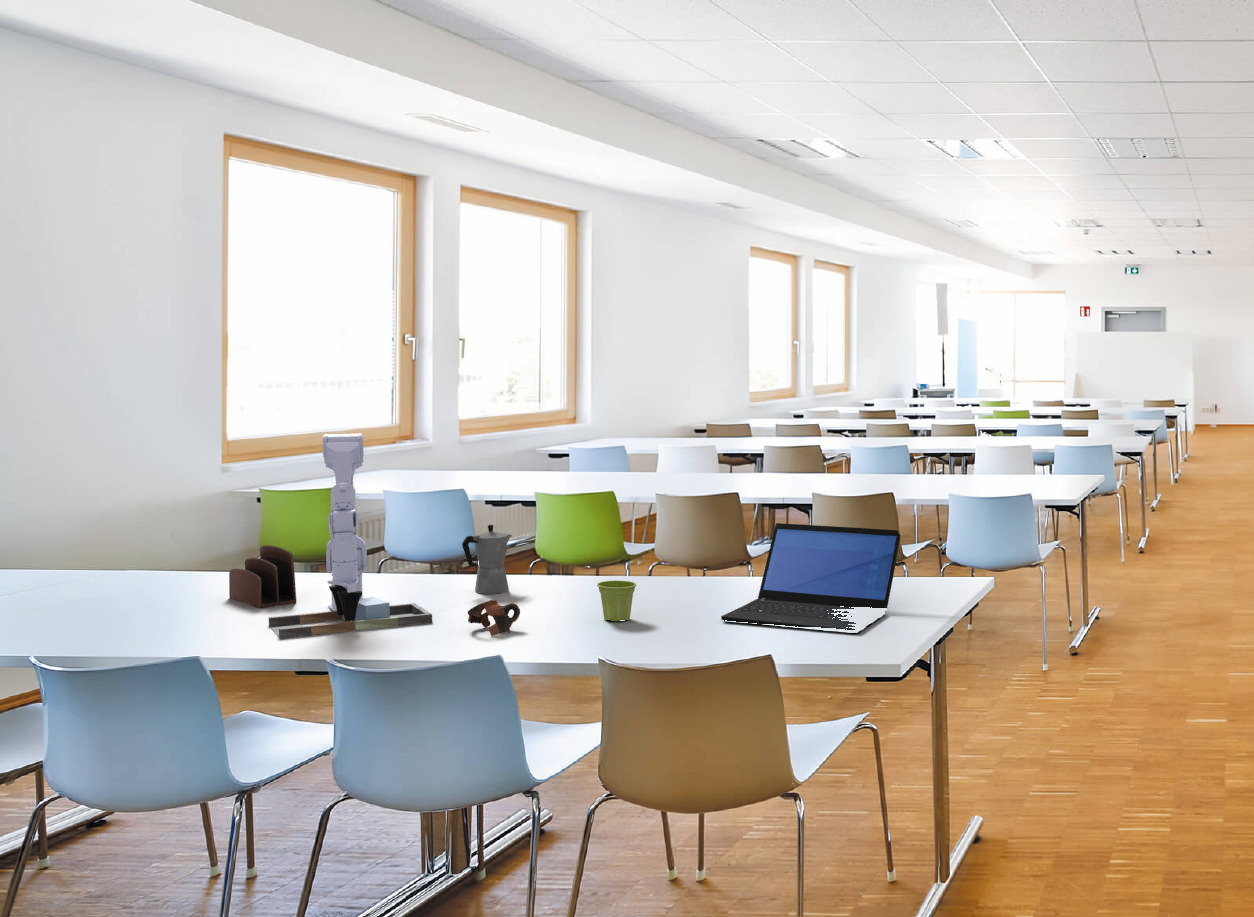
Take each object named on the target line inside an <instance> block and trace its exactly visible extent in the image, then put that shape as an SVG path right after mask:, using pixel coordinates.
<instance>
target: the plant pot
mask: <svg viewBox="0 0 1254 917" xmlns="http://www.w3.org/2000/svg"><path fill="white" fill-rule="evenodd" d="M637 585H638V583H636V582H634V581H629V580H618V579H617V580H604V581H600V582H598V583H597V584H596V586H597V587H598V590H599V593H600V598H601V599H600V600H601V607H602V613H603V620H604V621H606V620H610V621H612V622H613V621H620V620H627V621H629V620H628V619H631V615H632V614H631V613H632V604H633V597H634V592H635V589H636V587H637Z"/></svg>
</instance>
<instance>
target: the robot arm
mask: <svg viewBox="0 0 1254 917" xmlns="http://www.w3.org/2000/svg"><path fill="white" fill-rule="evenodd" d="M364 451H365V450H364V435H363V434H362V433H361V432H359V433H343V434H342V433H341V434H340V433H339V434H337V433H336V434H327V433H325V434H324V435H322V456H323V462H324V464H325V467H326V468H327V469H329V470H333V474H334V477H335V484H334V486H332V487H331V489H330V512H329V513H328V531H329V535H330V537H329V538H330V540H329V541H328V542H327V544H326V552H325V554H326V556H325V557H326V558H325V559H326V561H325V562H326V572H327V573H328V574H331V577H332V579H327V584H328V589H329V590H330V592H331V604H328V605H327V607H328V608H329V609H330V610H331V611H337V613H338V615H344V619H343V620H344V622H350V621H354V620H355V616H356V611H357V606H358V602H359V600H360V599H363V597H364V596H363V592H364V591H363V573H365V572H366V571H367V570H368V558H367V557H368V554H367V552H368V551H367V544H366V542H365V540H364V539H363V538H361V537H359V535H358V532H359V531H358V530H359V523H358V522H359V521H358V520H359V518H358V516H359V515H358V512H357V506H356V504H357V502H356V499H357V498H356V488H355V487H354V476H355V472H356V470H357V469H359V468H361V467H363V463H364V454H365V453H364ZM355 530H356V531H355Z"/></svg>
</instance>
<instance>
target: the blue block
mask: <svg viewBox="0 0 1254 917" xmlns="http://www.w3.org/2000/svg"><path fill="white" fill-rule="evenodd" d="M389 617H390V602H389V601H386V600H383V599H380V598H376V597H374V596H371V597H364V598H363V599H360V600H359V602H358V606H357V611H356V616H355V620H354V621H360V620H369V619H379V618H389Z"/></svg>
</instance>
